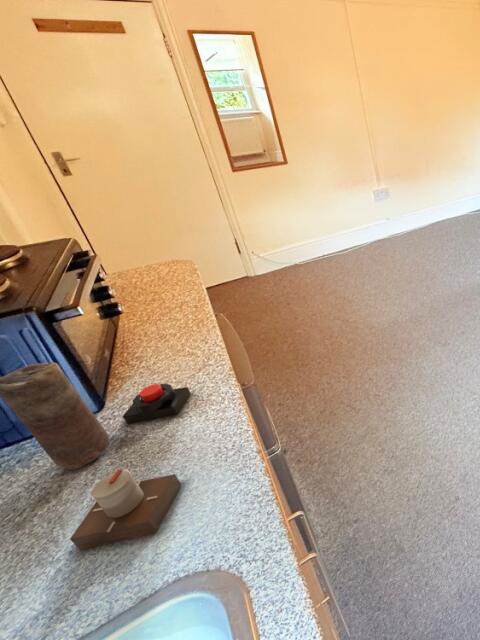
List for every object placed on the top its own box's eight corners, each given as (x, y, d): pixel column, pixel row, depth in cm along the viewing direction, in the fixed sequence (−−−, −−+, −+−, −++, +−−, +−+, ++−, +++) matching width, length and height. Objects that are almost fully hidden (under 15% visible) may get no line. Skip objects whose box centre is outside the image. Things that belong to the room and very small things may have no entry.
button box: (126, 424, 80) (117, 410, 78) (144, 401, 86) (136, 388, 84) (177, 415, 82) (169, 401, 80) (191, 393, 88) (184, 380, 86)
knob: (133, 514, 61) (117, 492, 59) (100, 521, 60) (82, 499, 58) (150, 487, 65) (136, 466, 62) (119, 493, 64) (103, 472, 62)
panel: (78, 552, 59) (67, 540, 58) (114, 497, 66) (106, 485, 65) (155, 534, 61) (146, 522, 60) (182, 483, 69) (175, 471, 67)
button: (139, 403, 81) (135, 397, 80) (148, 391, 84) (145, 385, 83) (158, 400, 81) (154, 394, 80) (167, 388, 84) (163, 382, 83)
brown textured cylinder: (49, 462, 73) (-17, 380, 64) (99, 431, 79) (45, 353, 70) (71, 477, 70) (5, 393, 61) (120, 444, 76) (67, 363, 67)
